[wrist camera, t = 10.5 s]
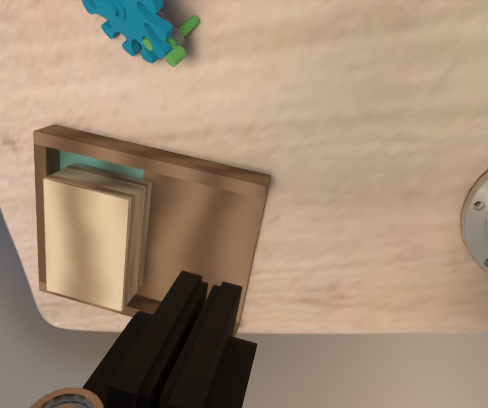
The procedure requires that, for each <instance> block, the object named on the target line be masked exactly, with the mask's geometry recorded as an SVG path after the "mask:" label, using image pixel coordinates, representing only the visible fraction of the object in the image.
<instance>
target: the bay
mask: <svg viewBox="0 0 488 408" xmlns="http://www.w3.org/2000/svg"><path fill="white" fill-rule="evenodd" d="M33 135H34V162H35V188H36V214H37V241H38V267H39V290H40V291H43V292H47V293H50V294H54V295H57V296H61V297H64V298H68V299H71V300H75V301H78V302H81V303H85V304H88V305H92V306H95V307H99V308H102V309H106V310H109V311H113V312H116V313H120V314H123V315H127V316H130V317H133V316H134V315H135V314H136V313H137V312H138V311H144V312H147V313H151V314H154V312H155V311H156V309H157V308H158V306H159V305H160V303H161V302H162V300H163V299H164V297H165V295H166V294H167V292H168V291H169V289H170V288H171V286H172V285H173V283H174V282H175V280H176V278H177V277H178V275H179V274H180V272H181V271H187V272H191V273H194V274H198V275H202V281H203V282H207V283H208V290H207V296H206V299H207V297H208V295H209V293H210V291H211V289H212V287H213V285H218V286H221V284H222V282H223V281H224V282H228V283H232V284H235V285H239V286H242V287H243V288H242V293H241V298H240V303H239V308H238V313H237V317H236V322H235V327H234V332H233V336H232V337H235V336H236V333H237V330H238V327H239V322H240V318H241V313H242V308H243V304H244V299H245V294H246V290H247V285H248V280H249V276H250V271H251V266H252V262H253V257H254V252H255V248H256V243H257V238H258V234H259V229H260V224H261V220H262V215H263V210H264V206H265V201H266V196H267V192H268V187H269V183H270V178H271V176H270V175H266V174H262V173H257V172H253V171H249V170H244V169H240V168H236V167H232V166H227V165H223V164H219V163H215V162H210V161H206V160H202V159H198V158H193V157H189V156H185V155H180V154H176V153H172V152H168V151H163V150H159V149H155V148H151V147H146V146H142V145H138V144H134V143H129V142H125V141H121V140H117V139H112V138H108V137H104V136H99V135H95V134H91V133H87V132H82V131H78V130H74V129H70V128H65V127H61V126H57V125H51V126H48V127H45V128H42V129H39V130H35V131H33ZM74 163H79V164H83V165H87V166H92V167H96V168H100V169H104V170H108V171H112V172H116V173H120V174H124V175H128V176H132V177H137V178H141V179H145V180H149V181H152V190H151V201H150V213H149V224H148V235H147V247H146V258H145V269H144V281H143V284H142V286H141V287H140V289H139V291H138V292H137V293H135V295H134V296H133V297H132V299H131V300H130V301H129V303H128V304H127V306H126V308H125V309H124V310H122V312H121V311H118V310H114V309H111V308H107V307H104V306H100V305H97V304H93V303H90V302H86V301H83V300H79V299H76V298H72V297H69V296H65V295H62V294H58V293H55V292H51V291H48V290H47V285H46V250H45V216H44V182H43V179H44V178H45V177H46V176H48V175H50V174H54V173H56V172H58V171H60V170H62V169H64V168H65V167H67V166H69V165H72V164H74Z"/></svg>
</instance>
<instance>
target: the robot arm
mask: <svg viewBox="0 0 488 408" xmlns="http://www.w3.org/2000/svg"><path fill="white" fill-rule="evenodd" d="M478 201H479V203H478V204H475V202H478ZM461 231H462V236H463V240H464V242H465V245H466V247H467V249H468V251H469V253H470V254H471V255H472V257H473V258H474V260H475V261H476V262H477V263H478V265H479V266H480V267H481V268H482V269H483V270H485V271H486V272H488V171H487V172H486V173H485V174H484V175H483V176H482V177H481V178H480V179H479V181H478V182H477V183H476V184H475V186H474V187H473V188H472V190H471V191H470V193H469V196H468V198H467V200H466V202H465V204H464V208H463V212H462V216H461ZM486 259H487V260H486ZM242 288H243V287H242V286H239V285H235V284H232V283H228V282H224V281H223V282H222V284H221V286H218V285H213V287H212V289H211V291H210V293H209V295H208V297H207V299H206V296H207V290H208V283H207V282H203V281H202V275H198V274H194V273H191V272H187V271H181V272H180V274H179V275H178V277H177V278H176V280H175V282H174V283H173V285H172V286H171V288H170V289H169V291H168V292H167V294H166V295H165V297H164V299H163V300H162V302H161V303H160V305H159V306H158V308H157V309H156V311H155V312H154V314H151V313H147V312H144V311H138V312H137V313H136V314H135V315H134V316H133V318H132V319H131V320H130V322H129V323H128V325H127V326H126V327H125V329H124V330H123V332H122V333H121V334H120V336H119V337H118V339H117V340H116V341H115V343H114V344H113V346H112V347H111V348H110V350H109V351H108V353H107V354H106V355H105V357H104V358H103V360H102V361H101V363H100V364H99V365H98V367H97V368H96V369H95V371H94V372H93V374H92V375H91V376H90V378H89V379H88V381H87V382H86V383H85V385H84V386H83V388H63V389H59V390H55V391H53V392H51V393H48V394H46V395H44V396H43V397H42V398H40V399H39V400H38V401H36V402H35V403H34V404H33V405H32V406H31V407H30V408H242V405H243V401H244V397H245V392H246V389H247V384H248V381H249V376H250V372H251V368H252V364H253V360H254V356H255V352H256V348H257V343H253V342H250V341H246V340H243V339H239V338H236V337H232V336H233V332H234V327H235V322H236V317H237V313H238V308H239V303H240V298H241V293H242Z"/></svg>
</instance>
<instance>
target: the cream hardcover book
mask: <svg viewBox="0 0 488 408" xmlns="http://www.w3.org/2000/svg"><path fill="white" fill-rule="evenodd" d="M43 182H44V216H45V250H46V285H47V290H48V291H51V292H55V293H58V294H62V295H65V296H69V297H72V298H76V299H79V300H83V301H86V302H90V303H93V304H97V305H100V306H104V307H107V308H111V309H114V310H118V311H121V312H122V310H124V309H125V308H126V306H127V304H128V303H129V301H130V300H131V299H132V297H133V296H134V295H135V293H137V292H138V291H139V289H140V287H141V286H142V284H143V281H144V269H145V258H146V247H147V235H148V224H149V213H150V201H151V190H152V181H149V180H145V179H141V178H137V177H132V176H128V175H124V174H120V173H116V172H112V171H108V170H104V169H100V168H96V167H92V166H87V165H83V164H79V163H74V164H72V165H69V166H67V167H65V168H64V169H62V170H60V171H58V172H56V173H54V174H50V175H48V176H46V177H45V178H44V179H43Z"/></svg>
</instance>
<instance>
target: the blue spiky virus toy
mask: <svg viewBox="0 0 488 408" xmlns="http://www.w3.org/2000/svg"><path fill="white" fill-rule="evenodd" d="M82 2H83V5H84V7H85V8H86V10H87V12H88V13H90V14H94V13H96V14H99V15H101V16H103V17H104V18H106V19H107V21H106V22H105V23H104V24H102V25H101V28H102V29H103V31H104V32H105V33H106V35H107V36H108V37H109V38H110V39H113V38H114V37H115V36H116V35H117V34H119V32H120V33H122V34H123V35H124V36H125V37H126V39H127V40H126V41H125V42H124V43H123V44H122V47H123V48H124V50H125V51H126V52H128V53H129V54H130V55H131V56H135V55H136V54H137V53H138V52H139V51H140V46H139V43H140V45H141V46H142V51H141V56H142V58H143V59H144V60H146V61H147V62H150V63H154V62H155V61H156V60H157V59H158V58H163V57H164V56H166V57H165V58H166V60H167V62H168V63H169V64H170V65H171V66H173V67H175V66H176V65H177V64H178V63H179V62H180V61H181V60H182V59H183V58H185V57H186V52H185V50H184V49H183V48H182V47H183V46H184V45H185V39H184V37H185V36H186V35H187V34H188V33H189V32H190V31H191V30H193V29H194V28H195V27H196V26H197V25H198V24H199V20H198V18H197V17H196V16H193V17H191V18H190V19H189V20H188V21H187V22H186V23H185V24H184V25H182V26H181V27H180V28H179V29H177V28H176V27H175V26H174V24H173V23H172V22H171V21H170V20H169V19H168V18H167V17H166V15H165V14H164V13H163V12H162V11H161V9H162V8H163V7H164V3H163V0H82ZM138 42H139V43H138Z"/></svg>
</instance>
